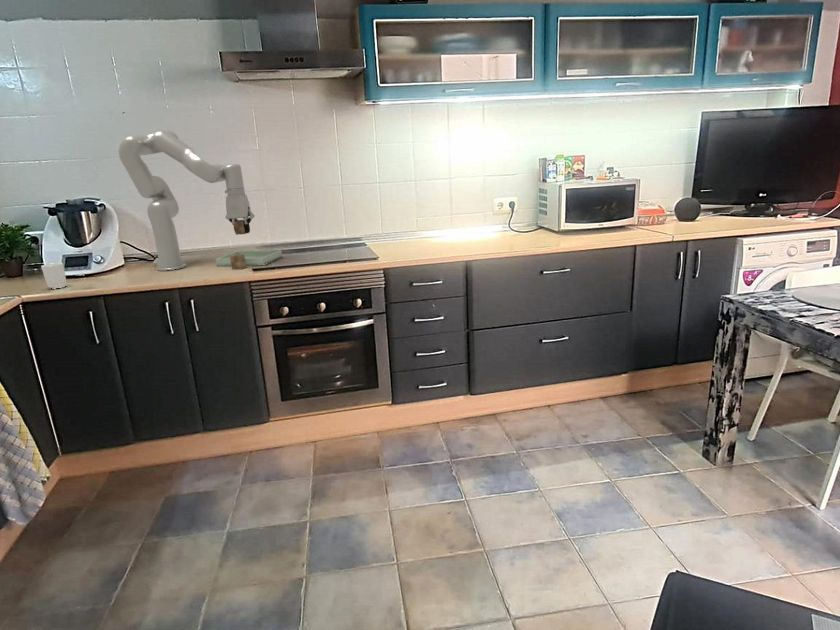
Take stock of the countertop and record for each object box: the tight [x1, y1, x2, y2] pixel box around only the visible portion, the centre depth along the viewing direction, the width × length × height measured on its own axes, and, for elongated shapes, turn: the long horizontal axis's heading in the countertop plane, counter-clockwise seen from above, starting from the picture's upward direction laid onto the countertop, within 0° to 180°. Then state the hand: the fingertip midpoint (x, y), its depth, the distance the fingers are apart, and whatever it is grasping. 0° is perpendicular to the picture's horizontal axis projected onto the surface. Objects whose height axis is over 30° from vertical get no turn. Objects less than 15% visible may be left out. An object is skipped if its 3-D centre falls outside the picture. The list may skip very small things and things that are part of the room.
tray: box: [215, 250, 283, 267], centre depth 269 cm, size 24×18×4 cm
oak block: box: [230, 254, 247, 271], centre depth 256 cm, size 4×4×6 cm
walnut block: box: [233, 219, 251, 236], centre depth 262 cm, size 4×4×6 cm
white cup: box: [40, 262, 68, 288], centre depth 240 cm, size 8×8×10 cm
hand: (242, 232), depth 263 cm, fingers closed on walnut block, 4 cm apart
